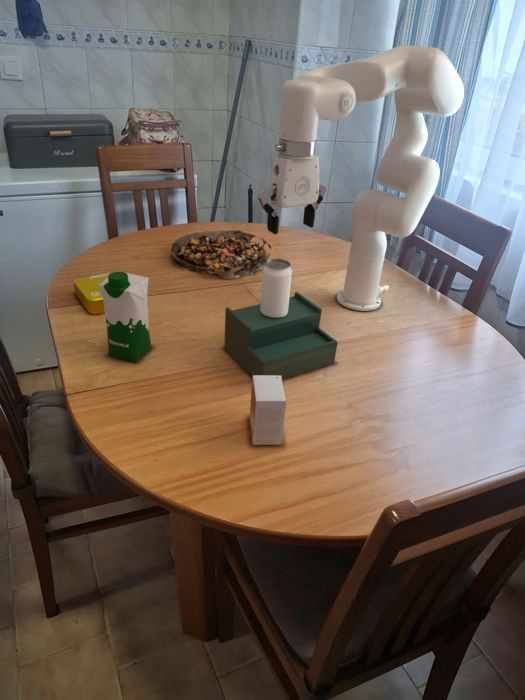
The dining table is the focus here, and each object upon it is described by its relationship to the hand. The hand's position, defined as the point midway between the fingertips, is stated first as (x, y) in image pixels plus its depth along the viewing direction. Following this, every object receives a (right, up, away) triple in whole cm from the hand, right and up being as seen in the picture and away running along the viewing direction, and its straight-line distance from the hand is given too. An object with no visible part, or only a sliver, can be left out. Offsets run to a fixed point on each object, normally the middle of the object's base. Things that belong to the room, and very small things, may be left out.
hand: (290, 228), depth 114 cm
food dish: (-20, +4, +56) cm, 59 cm away
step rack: (-2, -28, +7) cm, 29 cm away
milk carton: (-37, -27, +5) cm, 46 cm away
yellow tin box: (-48, -13, +26) cm, 56 cm away
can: (-4, -18, +4) cm, 19 cm away
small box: (-6, -43, -16) cm, 46 cm away
